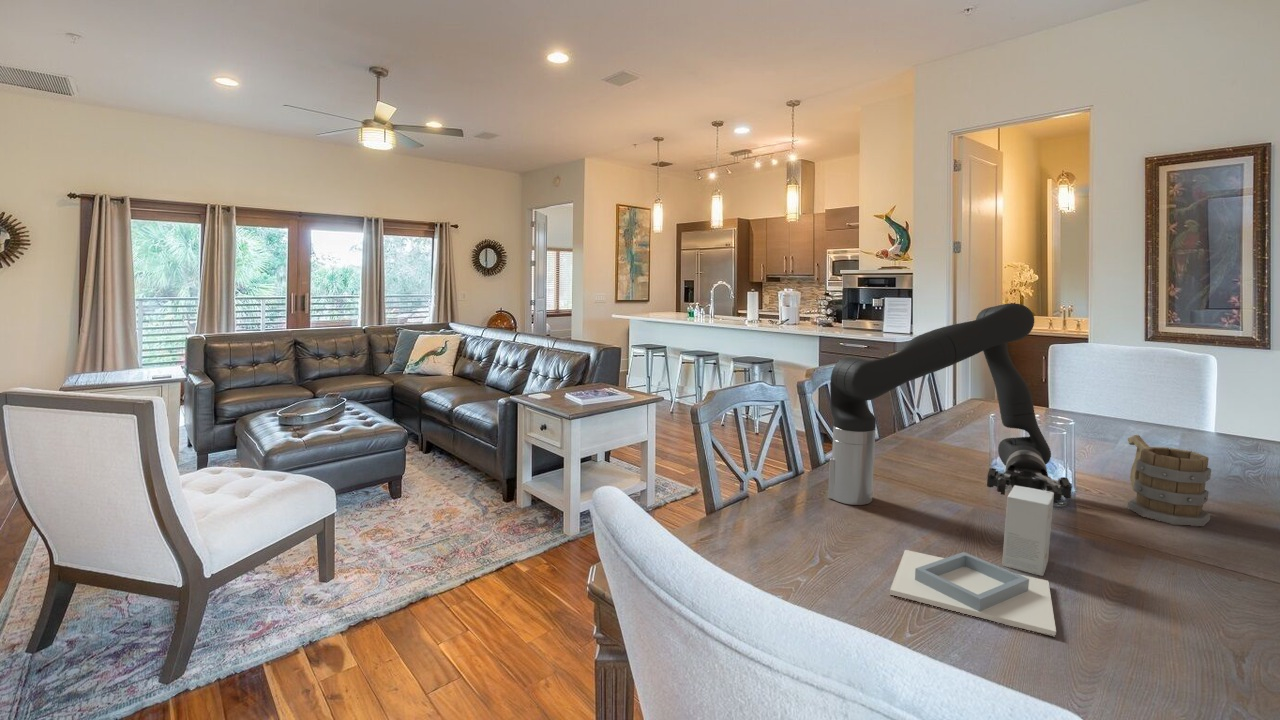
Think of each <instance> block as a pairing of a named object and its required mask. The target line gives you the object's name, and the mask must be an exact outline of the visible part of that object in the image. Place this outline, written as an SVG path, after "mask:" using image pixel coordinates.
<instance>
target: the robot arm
mask: <svg viewBox="0 0 1280 720" xmlns="http://www.w3.org/2000/svg"><path fill="white" fill-rule="evenodd" d="M1034 325H1035V315H1034V313H1033V311H1032V309H1030V308H1028V306H1026V305H1024V304H1020V303H1015V302H1011V303H1005V304H1000V305H995V306H989V307H986V308H984V309H982V310H981V311H979V313H978V314H977V316H976V318H975V319H974V320H970V321H965V322H964V321H963V322H960V323H954V324H950V325H946V326H941V327H939V328H936V329H933V330H931V331H927V332H924V333H921V334H919V335H917V336H915V337H913V338H911V340H909V341H908V342H906V344H905V345H904V347H903V348H901V350H899V351H897V352H896V353H894V354H891V355H888V356H885V357H881V358H877V359H872V360H871V359H870V360H869V359H863V358H859V357H850V356H849V357H844V358H841V359H840V360H838V361H837V362H836V363H835V364H834V367H833V369H832V371H831V375H830V381H829V382H830V384H829V385H830V386H829V387H830V389H829V391H830V392H829V394H830V395H829V396H830V401H829V402H830V403H829V404H830V414H831V416H832V419H833V424H832V425H833V429H832V431H833V432H832V450H831V452H832V455H831V457H830V458H829V464H828V465H829V468H828V491H827V499H830V500H834V501H836V502H839V503H841V504H845V505H852V506H853V505H854V506H863V505H869V504H870V503H872V501H873V485H874V483H873V481H874V467H875V466H874V463H875V446H876V445H875V444H876V424H877V420H876V417H875V415H874V414H873V413H872V412H871V410H870V409H869V407H868V405H867V403H866V402H868V401H872V400H875V399H876V398H879V397H881V396H883V395H886V394H887V393H889V392H890V391H892V390H894V389H896V388H898V387H900V386H902V385H903V384H906V383H908V382H911V381H914V380H916V379H920V378H922V377H925V376H926V375H930V374H933V373H935V372H937V371H938V372H939V371H940V370H943V369H946V368H948V367H952V366H953V365H956V364H957V363H959V362H962V361H964V360H966V359H969V358H972V357H973V356H975V355H978V354H979V353H981V352H983V354H984V358H985V360H986V364H987V367H988V369H989V372H990V374H991V377H992V380H993V383H994V386H995V387H994V388H995V392H996V397H997V402H998V408H999V413H1000V419H1001V424H1002V426H1004V427H1006V428H1008V429H1018V430H1022V431H1025V432H1026V433H1028V435H1029V436H1019V437H1017V436H1016V437H1007V438H1004V439H1002V440H1001V441H1000V442H999V444H998V447H997V452H998V456H999V459H1000V460H1001V462H1002V464H1004V466H1005V471H1004V472H999V471H998V470H997V469H996V468H994V467H991V468H989V469H988V472H987V477H986V486H987V487H988V488H994V487H996V491H997V492H998V493H1000V495H1003V496H1005V495H1006V490H1007V491H1011V490H1012V488H1013V486H1014V485H1016V486H1022V487H1028V488H1034V489H1039V490H1044V491H1049V492H1053V493H1054V500H1053V503H1058V502H1059V501H1060V502H1061V501H1062V498H1065V499H1067V500H1068V499H1071V498H1072V487H1073V486H1072V484H1071V482H1070V480H1069V478H1067V477H1063V476H1062V477H1060V478H1058V479H1057V480H1056V479H1052V478H1051V477H1050V476H1049V473H1048V470H1047V466H1046V465H1047V464H1049V462H1050V461H1051V458H1052V453H1051V451H1052V450H1051V448H1050V446H1049V444H1048V442H1047V441H1046V439H1045V437H1044V435H1043V433H1042V432H1041V429H1040V426H1039V423H1038V422H1037V418H1036V413H1035V407H1034V403H1033V396H1032V393H1031V390H1030V388H1029V386H1028V384H1027V382H1026V380H1024V378H1023V376H1022V375H1021V373H1020V372H1019V371H1018V370H1017V368H1016V366H1015V365H1014V363H1013V361H1012V359H1011V357H1010V356H1011V355H1010V354H1009V351H1008V343H1012V342H1017V341H1020V340H1022V339H1025V338H1026V337H1028V335H1029V334H1030V333H1031V331H1033V329H1034Z"/></svg>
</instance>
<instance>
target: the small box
mask: <svg viewBox="0 0 1280 720" xmlns="http://www.w3.org/2000/svg"><path fill="white" fill-rule="evenodd" d="M1009 491H1010V492H1009V493H1008V495H1007V497H1006V512H1005V523H1004V524H1005V525H1004V535H1003V536H1004V537H1003V546H1002V547H1003V549H1002V559H1001V565H1002V566H1003V567H1005V568H1010V569H1014V570H1017V571H1021V572H1025V573H1030V574H1033V575H1036V576H1041V577H1044V574H1045V571H1046V568H1047V566H1048V562H1049V555H1050V554H1049V553H1050V542H1051V541H1050V540H1051V528H1052V520H1053V519H1052V518H1053V508H1054V502H1053V500H1054V493H1053V492H1049V491H1044V489H1043V490H1039V489H1034V488H1028V487H1022V486H1016V485H1014V486H1013V488H1012V490H1009Z"/></svg>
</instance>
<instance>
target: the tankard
mask: <svg viewBox="0 0 1280 720" xmlns="http://www.w3.org/2000/svg"><path fill="white" fill-rule="evenodd" d="M1127 442H1128V444H1129V445H1131V446H1132V445H1133V446H1134V445H1135V447H1136V451H1135V457H1134V461H1133V463H1132V464H1131V465H1132V466H1131V468H1130V477H1129V479H1130V485H1131V488H1132V490H1133V491H1134V492H1135V493H1136V497H1134V498H1132V499H1130V500H1129V501H1127V506H1126V507H1127V508H1129V509H1128V510H1130V509H1131V511H1132V512H1133V513H1135V512H1136V513H1135V514H1137V513H1138V514H1137V515H1139V516H1140V515H1141V517H1142V516H1143V517H1142V518H1144V517H1147V518H1146V519H1148V518H1151V519H1150V520H1152V519H1155V520H1154V521H1156V520H1160V521H1163V522H1162V523H1164V522H1167V523H1166V524H1168V523H1171V524H1170V525H1172V524H1175V525H1174V526H1182V525H1191V526H1190V527H1198V526H1202V527H1204V526H1206V524H1208V522H1210V521H1211V520H1210V519H1211V513H1209V512H1207V511H1205V510H1203V506H1204V504H1206V503H1207V502H1208V501H1209V500H1208V499H1209V490H1207V489H1206V483H1207V482H1208V481H1209V480H1211V476H1212V468H1209V466H1208V465H1209V457H1208V456H1206V455H1203V454H1201V453H1199V452H1196V451H1192V450H1186V449H1179V448H1175V447H1174V448H1173V447H1170V448H1169V447H1165V446H1164V447H1163V446H1149V445H1148V444H1147V443H1146V442H1145V440H1144V439H1143V438H1142V437H1141V436H1140V435H1139V434H1134V435H1132V436H1130V437H1128V438H1127ZM1209 520H1210V521H1209ZM1160 521H1159V522H1160Z"/></svg>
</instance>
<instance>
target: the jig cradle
mask: <svg viewBox="0 0 1280 720" xmlns="http://www.w3.org/2000/svg"><path fill="white" fill-rule="evenodd" d="M1050 589H1051V588H1050V584H1049V580H1046V579H1042V578H1037V577H1033V576H1028V575H1023V574H1018V573H1016V572H1014V571H1011V570H1008V569H1006V568H1004V567H1001V566H998V565H997V564H994V563H992V562H989V561H987V560H984V559H982V558H980V557H977V556H976V555H972V554H970V553H967V552H966V551H962V552H960V553H956V554H953V555H951V556H948V557H940V556H936V555H931V554H927V553H923V552H917V551H914V550H908V549H904V552H903V555H902V557H901V560H900V562H899V565H898V567H897V570H896V573H895V575H894V578H893V581H892V583H891V586H890V588H889V595H890V594H891V595H895V596H899V597H904V598H908V599H912V600H916V601H919V602H923V603H927V604H930V605H934V606H937V607H941V608H945V609H948V610H952V611H956V612H960V613H964V614H968V615H972V616H976V617H981V618H984V619H989V620H993V621H997V622H1000V623H1004V624H1007V625H1011V626H1015V627H1019V628H1024V629H1027V630H1032V631H1037V632H1041V633H1047V634H1052V635H1056V636H1057V627H1056V621H1055V615H1054V609H1053V602H1052V597H1051V590H1050ZM937 607H936V608H937ZM948 610H947V611H948ZM952 611H951V612H952ZM956 612H955V613H956ZM960 613H959V614H960ZM964 614H963V615H964ZM968 615H967V616H968ZM972 616H971V617H972Z"/></svg>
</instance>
